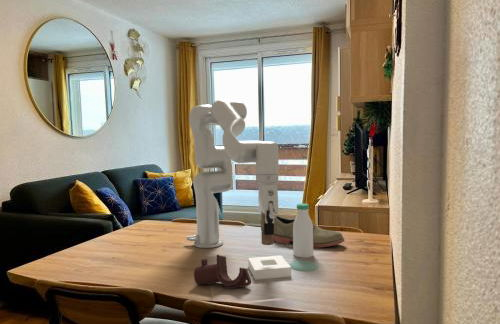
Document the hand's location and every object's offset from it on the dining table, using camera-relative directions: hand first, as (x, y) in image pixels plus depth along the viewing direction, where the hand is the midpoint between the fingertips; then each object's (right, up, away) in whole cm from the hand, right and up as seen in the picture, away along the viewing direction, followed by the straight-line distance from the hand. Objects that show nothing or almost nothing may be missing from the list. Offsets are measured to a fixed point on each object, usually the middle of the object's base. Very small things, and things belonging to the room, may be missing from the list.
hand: (267, 232), depth 119 cm
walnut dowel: (0, -4, 0) cm, 4 cm away
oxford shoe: (+18, -12, +33) cm, 40 cm away
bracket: (-14, -15, -9) cm, 23 cm away
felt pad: (+13, -13, +5) cm, 19 cm away
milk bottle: (+15, -13, +17) cm, 26 cm away
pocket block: (+1, -14, 0) cm, 14 cm away
